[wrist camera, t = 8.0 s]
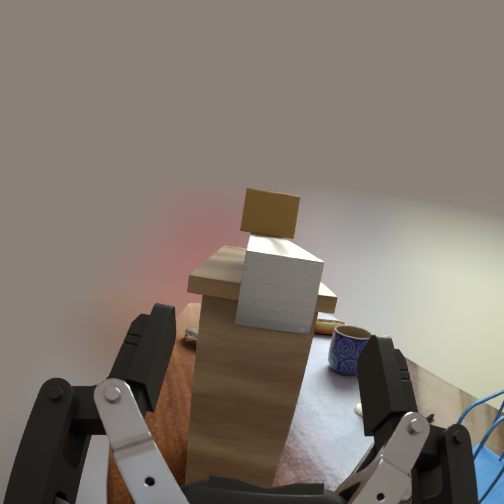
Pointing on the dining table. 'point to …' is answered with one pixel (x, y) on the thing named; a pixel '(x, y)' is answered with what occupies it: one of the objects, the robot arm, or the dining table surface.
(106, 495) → the dining table surface
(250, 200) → the mallet
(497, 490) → the file sorter
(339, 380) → the dining table surface
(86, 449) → the robot arm
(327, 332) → the hot dog
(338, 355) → the planter
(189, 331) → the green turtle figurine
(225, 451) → the stand
